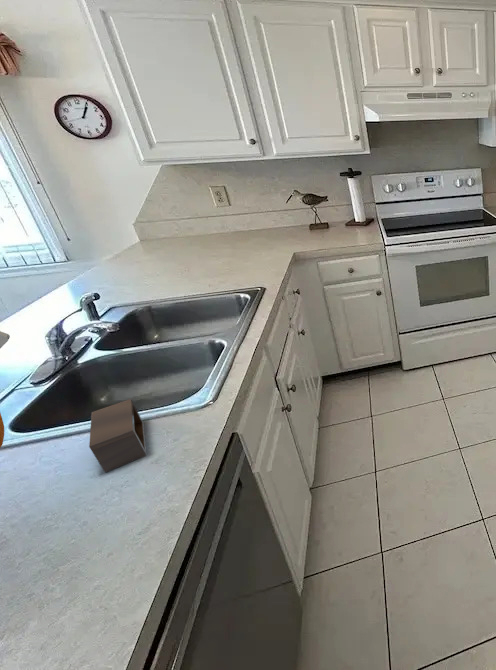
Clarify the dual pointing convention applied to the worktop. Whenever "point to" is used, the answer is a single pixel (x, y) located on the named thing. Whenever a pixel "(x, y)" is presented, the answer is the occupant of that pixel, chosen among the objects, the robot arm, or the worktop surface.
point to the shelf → (117, 435)
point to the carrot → (1, 430)
